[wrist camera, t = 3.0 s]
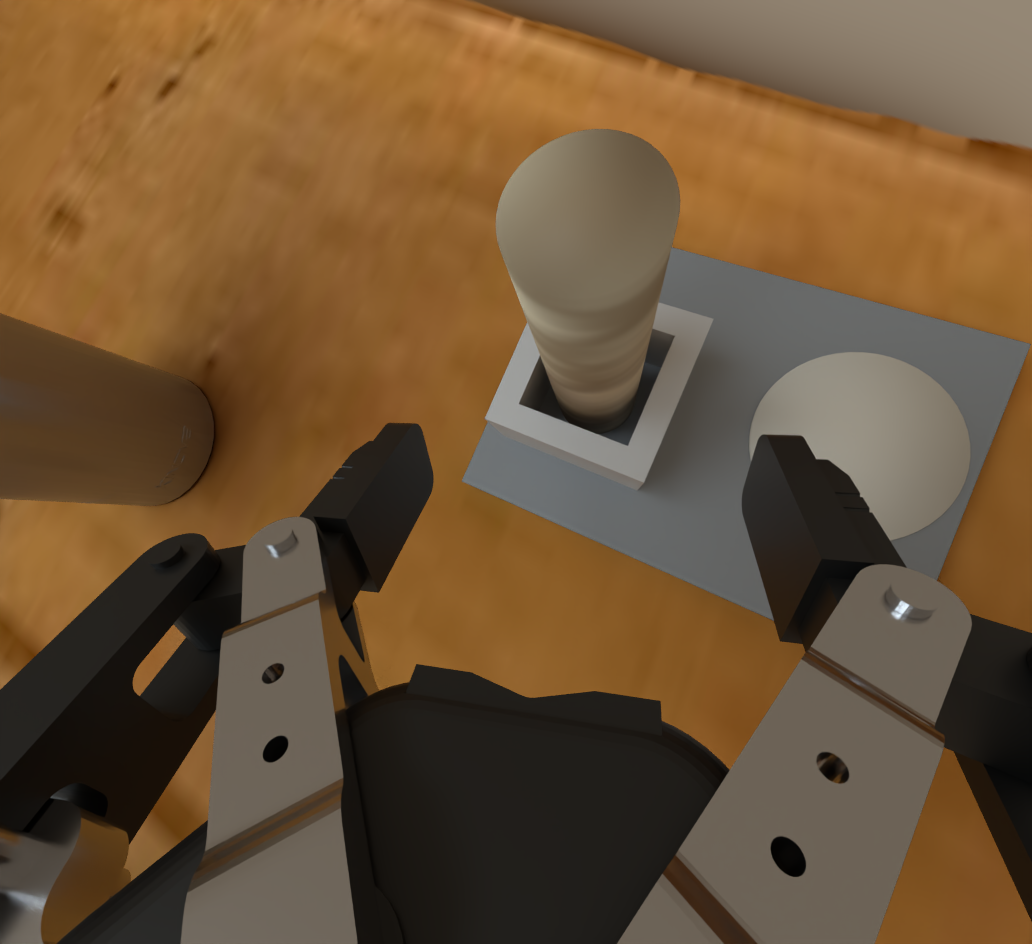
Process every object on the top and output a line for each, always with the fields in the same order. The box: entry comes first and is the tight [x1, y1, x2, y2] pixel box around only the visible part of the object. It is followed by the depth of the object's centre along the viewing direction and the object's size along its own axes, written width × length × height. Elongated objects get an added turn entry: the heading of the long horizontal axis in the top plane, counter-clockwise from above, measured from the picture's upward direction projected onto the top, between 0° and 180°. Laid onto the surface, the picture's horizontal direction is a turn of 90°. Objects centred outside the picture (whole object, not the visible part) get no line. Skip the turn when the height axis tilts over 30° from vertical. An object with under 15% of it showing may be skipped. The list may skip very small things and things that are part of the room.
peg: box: [496, 129, 680, 434], centre depth 16 cm, size 4×4×14 cm
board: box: [462, 248, 1031, 621], centre depth 21 cm, size 22×16×6 cm
